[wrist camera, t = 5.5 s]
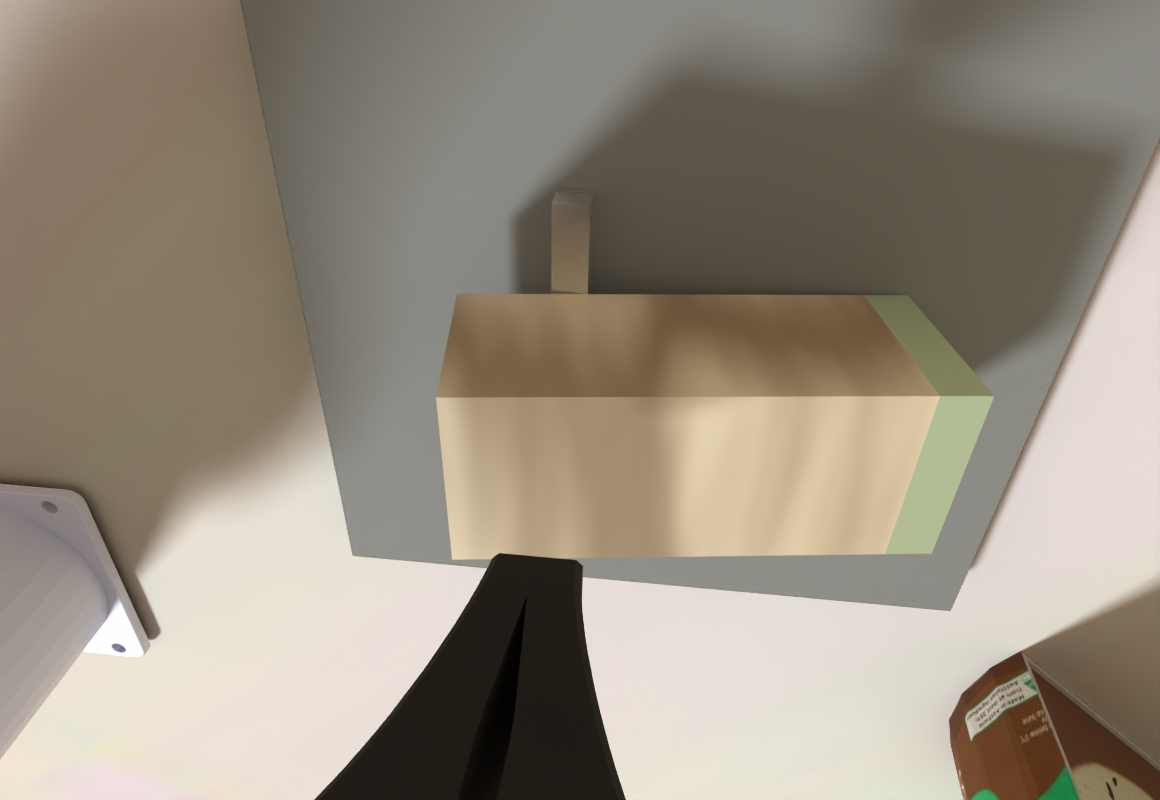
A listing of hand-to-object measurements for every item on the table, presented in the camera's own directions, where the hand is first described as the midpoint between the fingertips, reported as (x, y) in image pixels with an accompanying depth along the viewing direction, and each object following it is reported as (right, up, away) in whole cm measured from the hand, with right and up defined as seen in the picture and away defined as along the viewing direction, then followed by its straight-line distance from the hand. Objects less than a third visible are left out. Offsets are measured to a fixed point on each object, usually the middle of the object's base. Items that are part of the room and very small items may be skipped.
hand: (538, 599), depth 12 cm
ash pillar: (-2, +3, +4) cm, 5 cm away
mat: (+3, +5, +7) cm, 9 cm away
